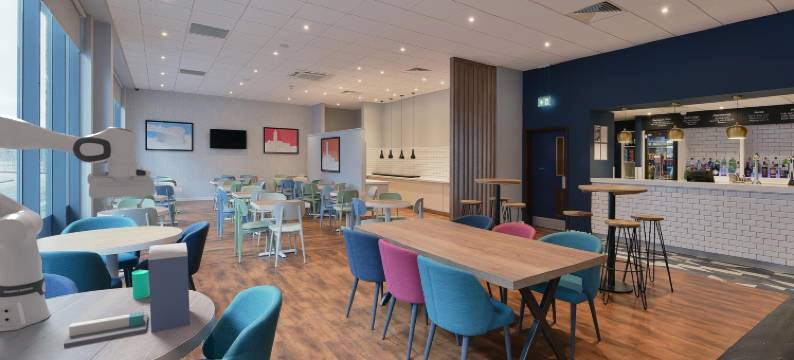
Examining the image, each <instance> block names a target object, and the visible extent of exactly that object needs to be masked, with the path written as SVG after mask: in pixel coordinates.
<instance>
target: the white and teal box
mask: <svg viewBox="0 0 794 360" xmlns="http://www.w3.org/2000/svg"><path fill="white" fill-rule="evenodd" d="M144 313H145V312H144V311H139V312H134V313H129V314H123V315H117V316H110V317H103V318H98V319H91V320H85V321H80V322H79V321H78V322H74V323H73V322H71V323H70V325H69V327H68V331H69V333H68V335H70V336H74V335H80V334H85V333H91V332H97V331H103V330H108V329H114V328H120V327H126V326H133V325H139V324H143V322H144V315H145V314H144Z"/></svg>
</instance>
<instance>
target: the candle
mask: <svg viewBox="0 0 794 360" xmlns="http://www.w3.org/2000/svg"><path fill="white" fill-rule="evenodd" d="M131 280H132V281H131V282H132V299H134V300H141V299H146V298H148V297H150V291H149V269H148V270H144V269H137V270H134V271H132V272H131Z"/></svg>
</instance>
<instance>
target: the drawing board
mask: <svg viewBox="0 0 794 360" xmlns="http://www.w3.org/2000/svg"><path fill="white" fill-rule="evenodd" d="M148 319H149V315H148V314H144V322H143V324H139V325H133V326H126V327H120V328H114V329H108V330H103V331H97V332H91V333H85V334H80V335H74V336H70V335H69V334H68V335H67V336H66V339H65V341H64V342H63V348H69V347H74V346H75V347H76V346H81V345H86V344H91V343H96V342H101V341H106V340H111V339H112V340H113V339H118V338H122V337H124V338H125V337H129V336H134V335H139V334H144V333H147V330H148V329H147V328H148V321H149V320H148Z"/></svg>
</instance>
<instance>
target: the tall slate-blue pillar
mask: <svg viewBox="0 0 794 360" xmlns="http://www.w3.org/2000/svg"><path fill="white" fill-rule="evenodd" d="M188 259H189V258H188V247H187V242H179V243H167V244H158V245H150V246H149V250H148V254H147V260H148V261H147V263H148V268H147V269H148V271H149V294H150V296H149V313H150V333H157V332H161V331H167V330H172V329H177V328H182V327H188V326H190V325H191V319H190V318H191V317H190V316H191V315H190V313H191V311H190V292H189V291H190V289H189V287H190V285H189V263H188V261H189V260H188Z"/></svg>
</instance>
